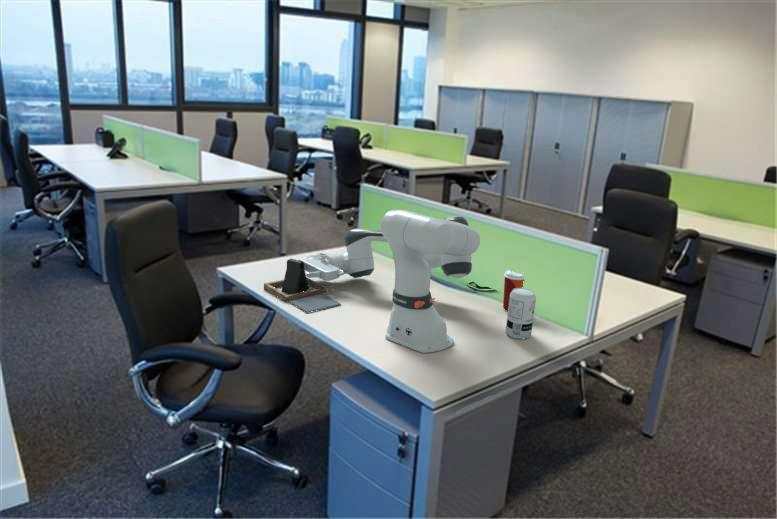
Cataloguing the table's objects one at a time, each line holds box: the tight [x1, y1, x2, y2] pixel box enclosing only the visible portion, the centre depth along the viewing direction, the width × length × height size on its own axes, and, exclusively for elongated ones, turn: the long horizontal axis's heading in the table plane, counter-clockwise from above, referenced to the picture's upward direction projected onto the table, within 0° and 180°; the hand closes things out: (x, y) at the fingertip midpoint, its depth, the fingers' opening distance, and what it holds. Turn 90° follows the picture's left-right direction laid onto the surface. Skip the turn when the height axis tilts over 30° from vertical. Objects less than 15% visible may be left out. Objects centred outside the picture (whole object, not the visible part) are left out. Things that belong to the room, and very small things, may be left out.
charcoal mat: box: [288, 294, 342, 314], centre depth 210 cm, size 12×14×1 cm
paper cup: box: [502, 269, 526, 312], centre depth 212 cm, size 8×8×14 cm
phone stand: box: [280, 258, 310, 295], centre depth 220 cm, size 9×6×12 cm, turn 150°
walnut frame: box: [263, 276, 328, 303], centre depth 221 cm, size 16×17×2 cm
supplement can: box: [505, 287, 537, 340], centre depth 191 cm, size 8×8×15 cm
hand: (300, 271), depth 221 cm, fingers open, 8 cm apart
